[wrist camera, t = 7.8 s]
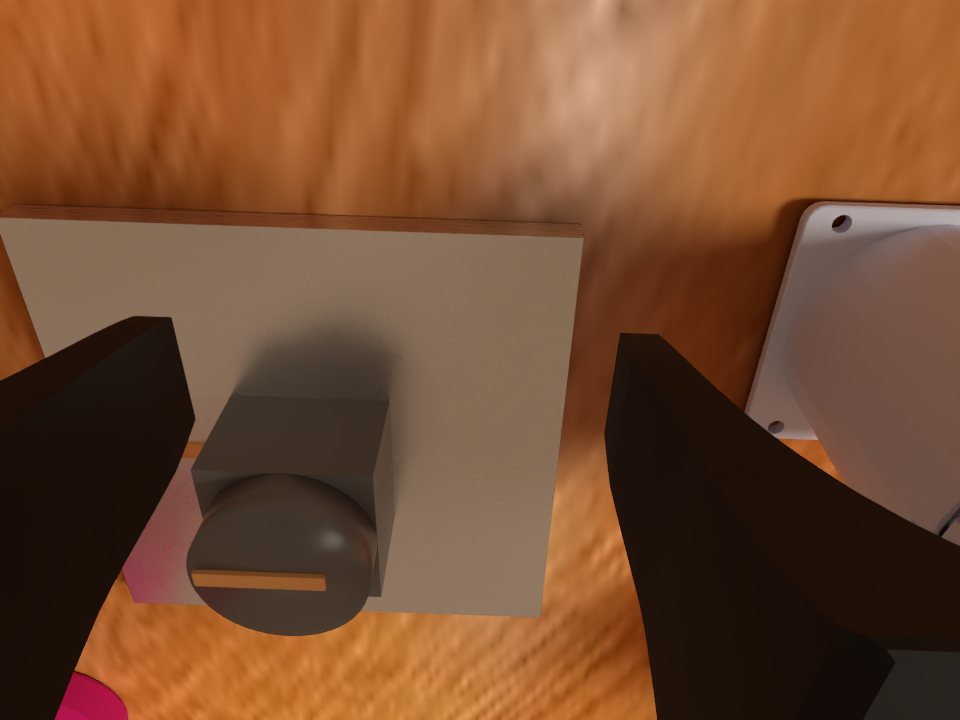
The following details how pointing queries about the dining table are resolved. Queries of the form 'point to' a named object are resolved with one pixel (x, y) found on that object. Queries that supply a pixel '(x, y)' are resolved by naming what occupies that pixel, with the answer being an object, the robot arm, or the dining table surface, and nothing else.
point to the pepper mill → (90, 701)
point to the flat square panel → (345, 365)
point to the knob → (293, 512)
